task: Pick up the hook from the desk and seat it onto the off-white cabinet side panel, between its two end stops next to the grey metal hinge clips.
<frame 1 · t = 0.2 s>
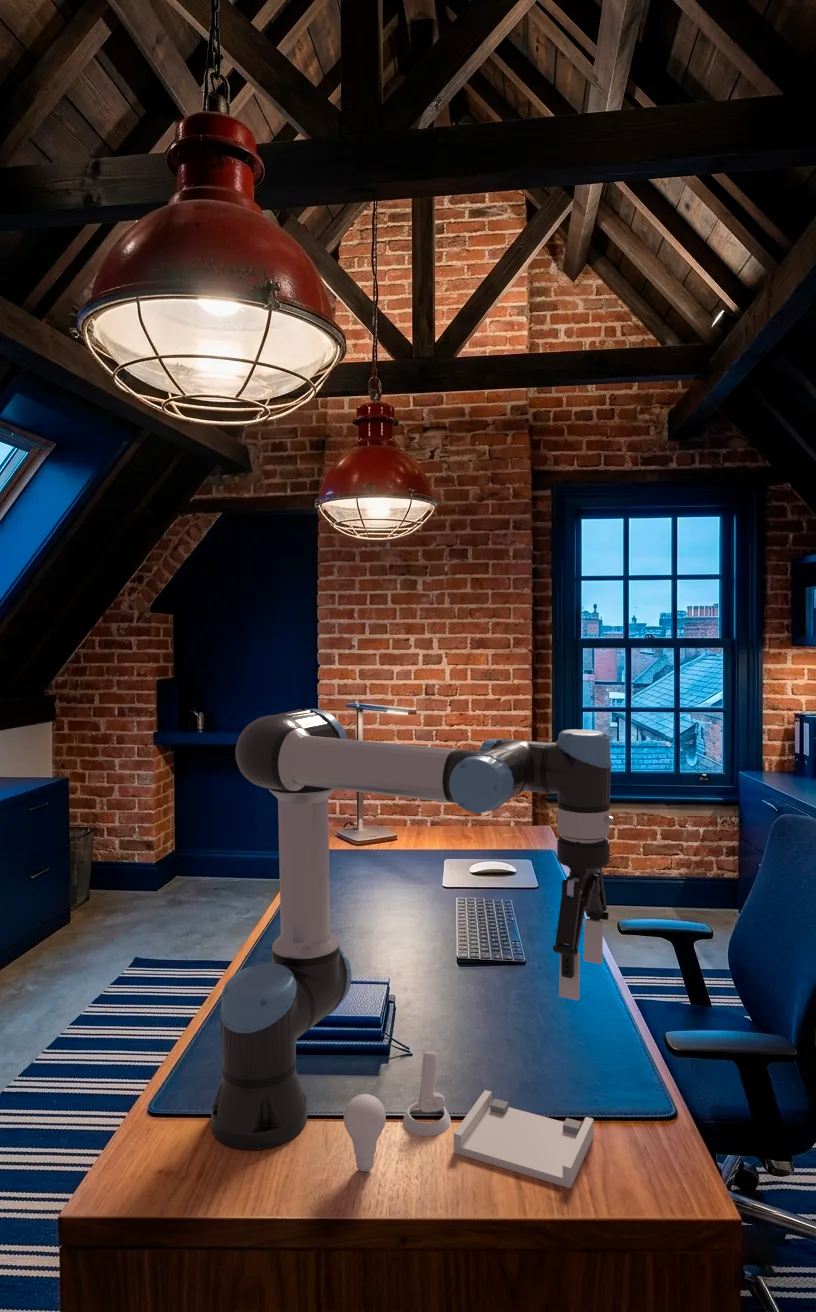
hand: (581, 979, 124), 27 cm above the table, fingers open, 13 cm apart
hook: (427, 1122, 135), on the table
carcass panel: (524, 1145, 129), on the table
lightbulb: (364, 1171, 123), on the table
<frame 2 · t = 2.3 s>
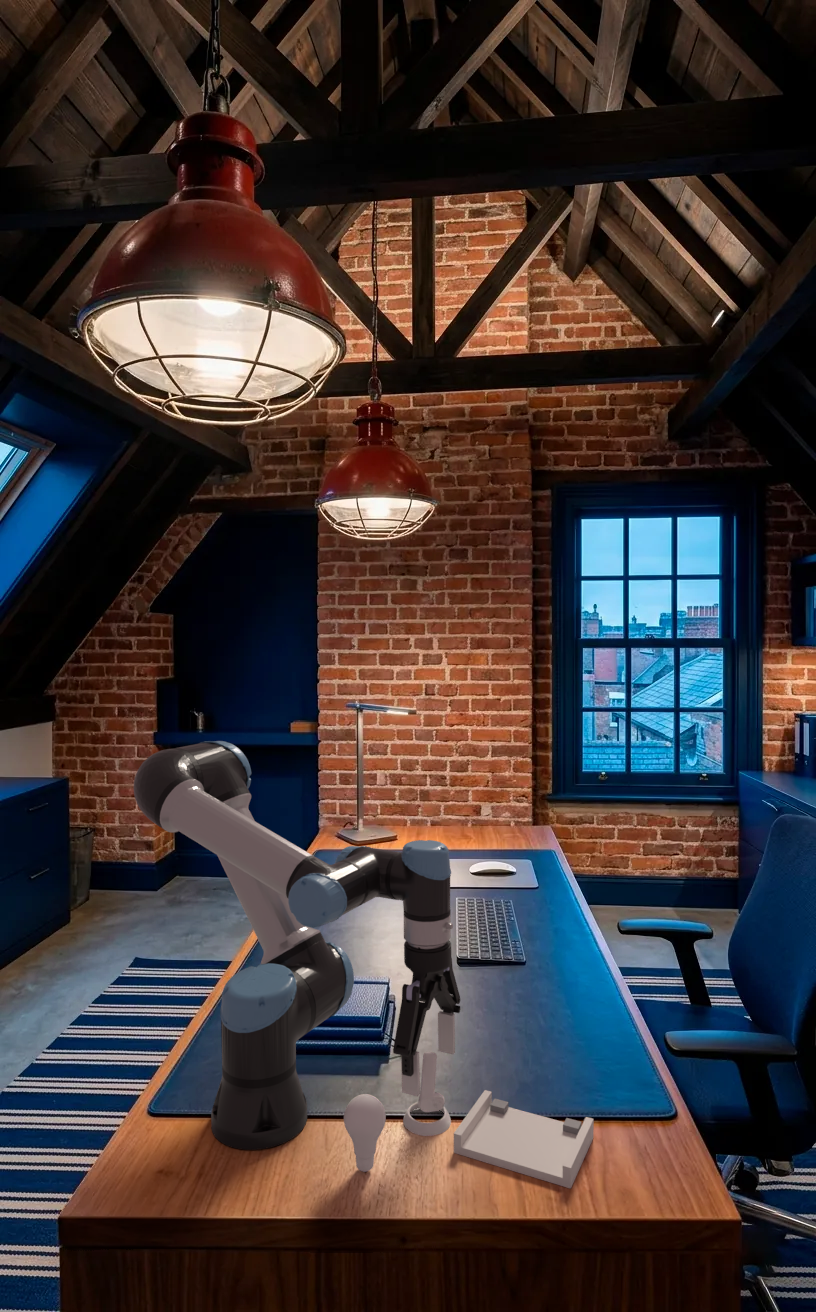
hand: (429, 1071, 134), 8 cm above the table, fingers open, 13 cm apart
nothing on the table moved.
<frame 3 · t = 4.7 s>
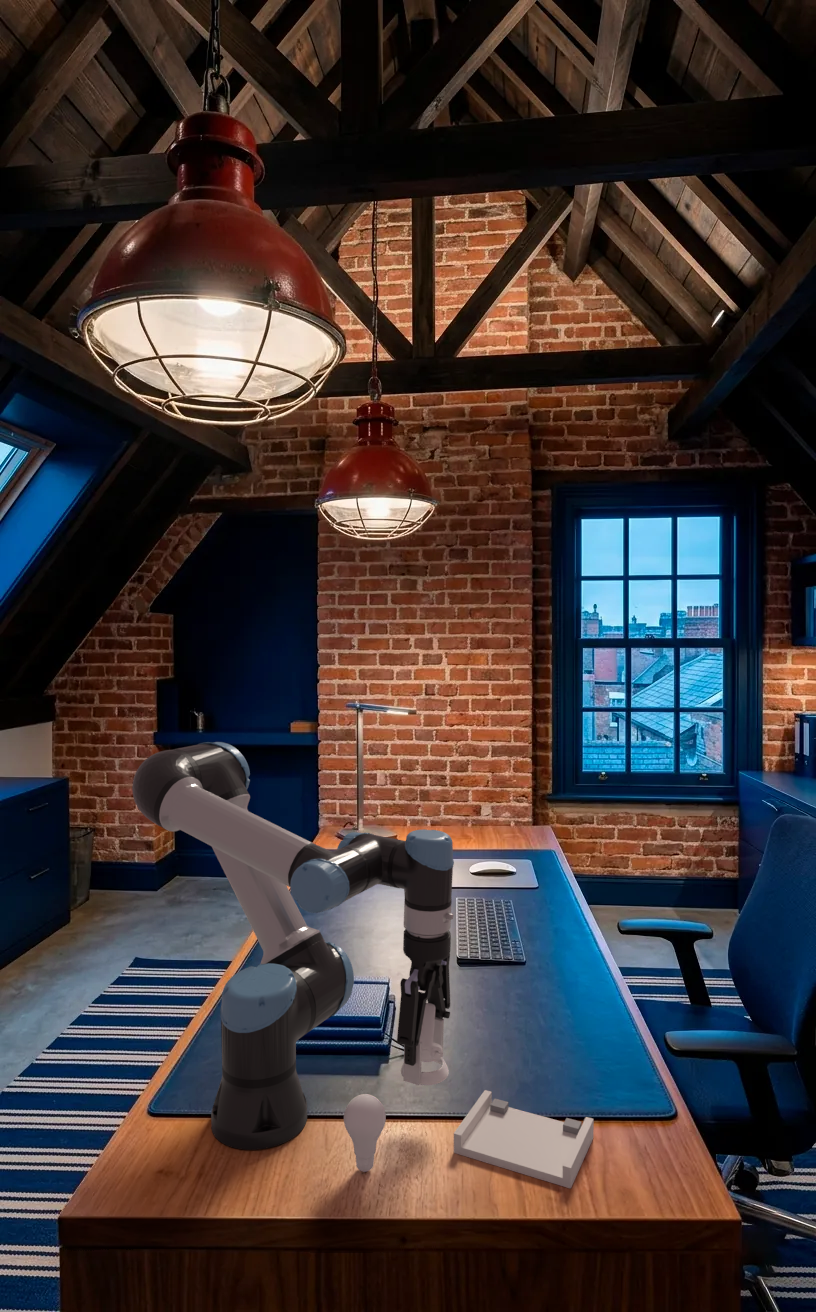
hand: (423, 1068, 135), 8 cm above the table, fingers closed on hook, 8 cm apart
hook: (424, 1073, 135), point 8 cm above the table, touching gripper
everything else where it was.
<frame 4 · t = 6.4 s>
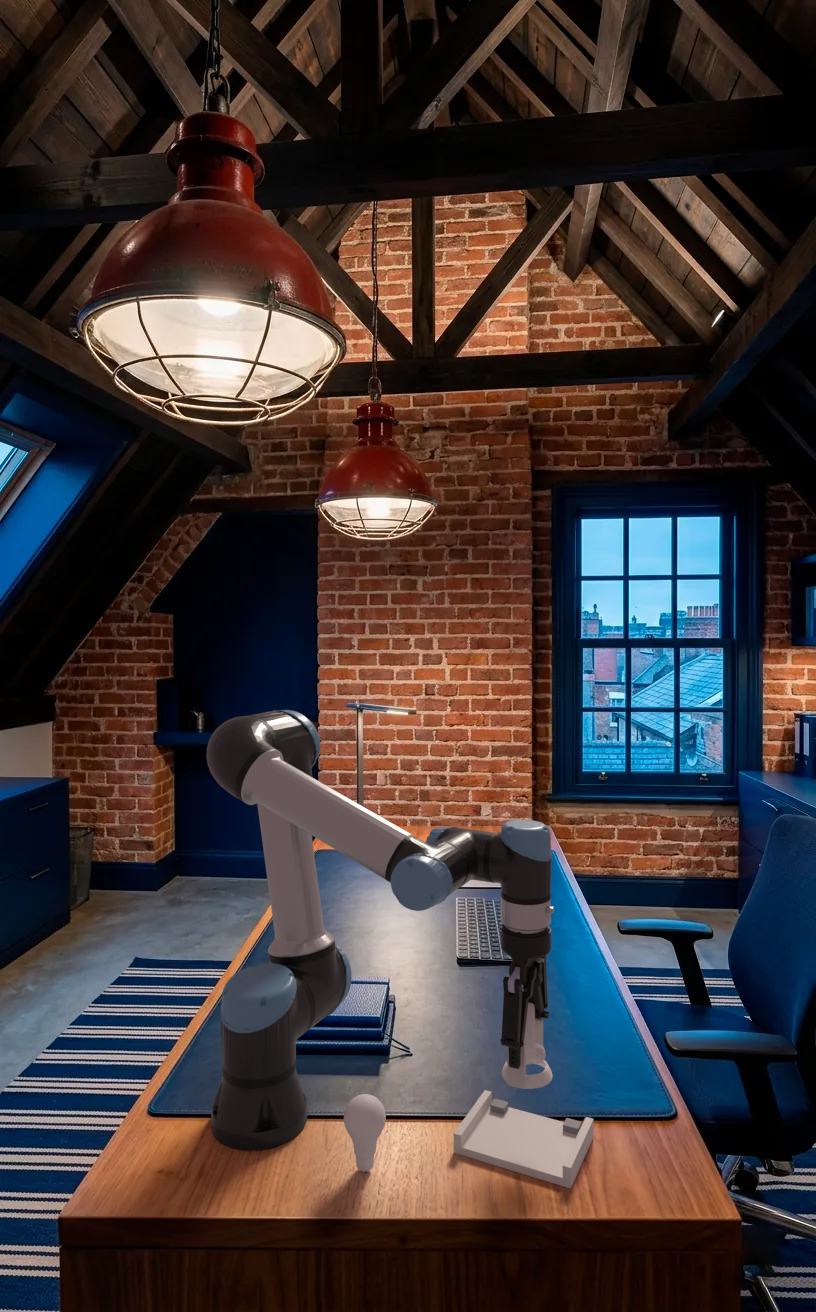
hand: (525, 1072, 128), 11 cm above the table, fingers closed on hook, 8 cm apart
hook: (527, 1076, 128), point 11 cm above the table, touching gripper
everything else where it was.
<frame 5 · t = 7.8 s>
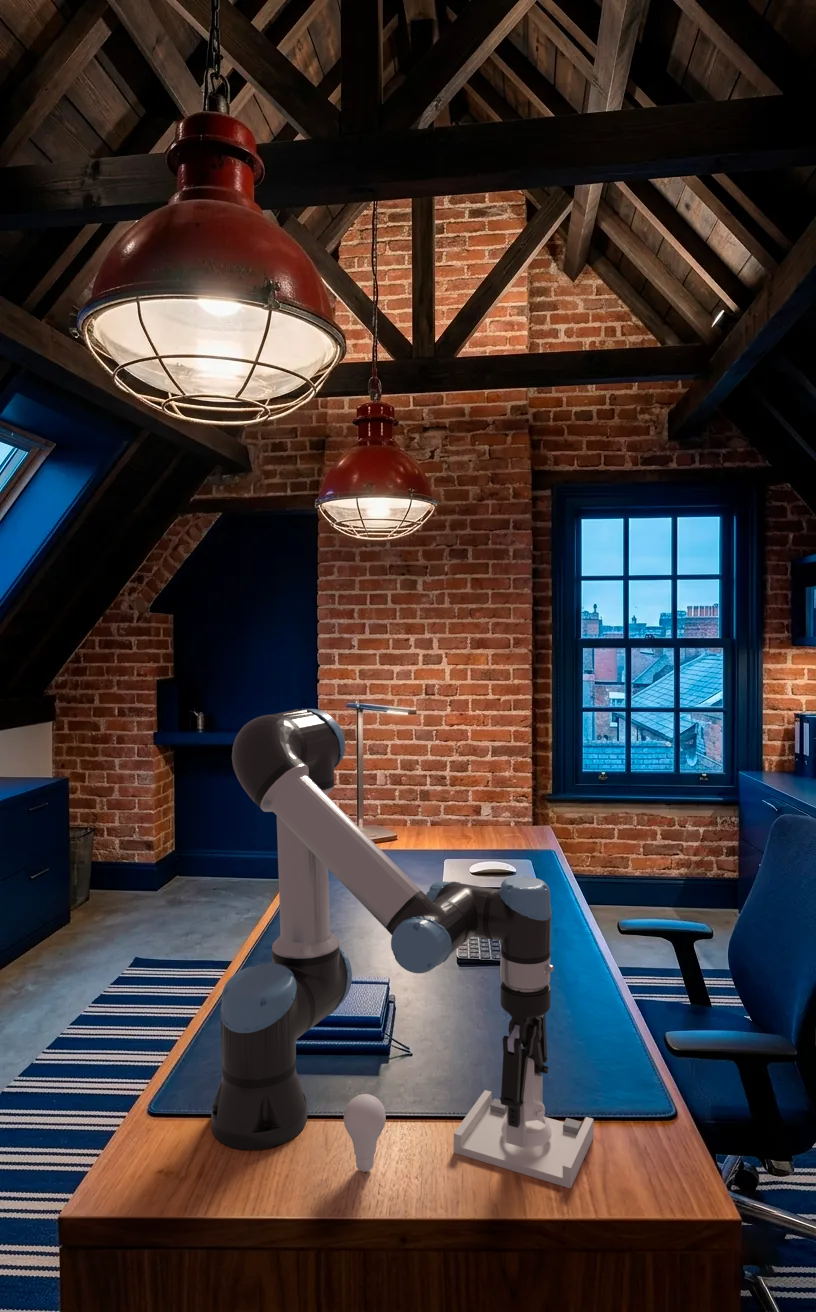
hand: (524, 1128, 129), 3 cm above the table, fingers closed on hook, 8 cm apart
hook: (526, 1132, 129), point 2 cm above the table, touching gripper
everything else where it was.
when the fingers open (2 cm above the table, at t = 8.3 s): hook stays where it is, resting on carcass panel.
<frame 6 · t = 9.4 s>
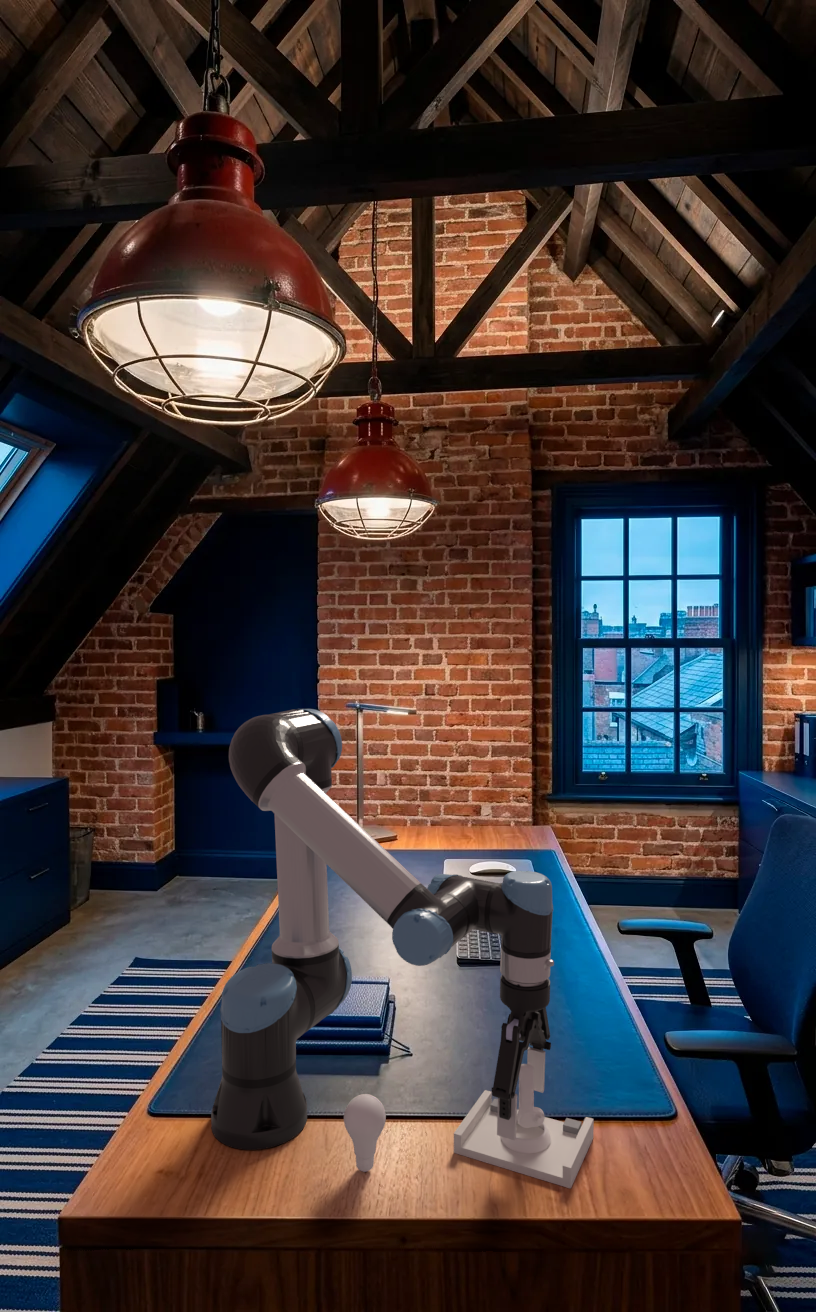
hand: (521, 1112, 129), 5 cm above the table, fingers open, 13 cm apart
hook: (525, 1138, 129), point 1 cm above the table, touching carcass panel
everything else where it was.
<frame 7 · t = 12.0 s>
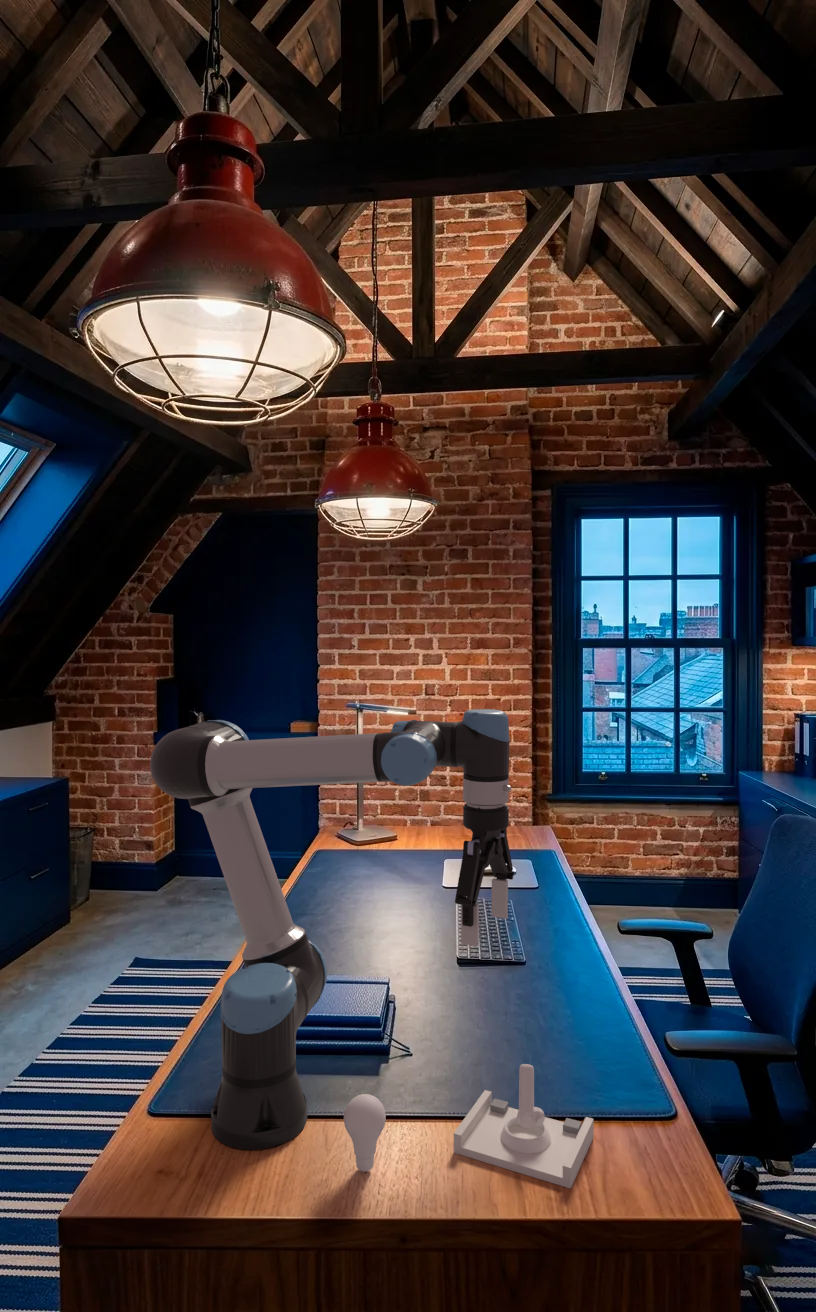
hand: (485, 930, 140), 29 cm above the table, fingers open, 13 cm apart
nothing on the table moved.
at the end: hook inside the target area on the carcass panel (0.2 cm from its centre), point 1.0 cm above the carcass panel's base; the gripper is holding nothing; hook touching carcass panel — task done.
